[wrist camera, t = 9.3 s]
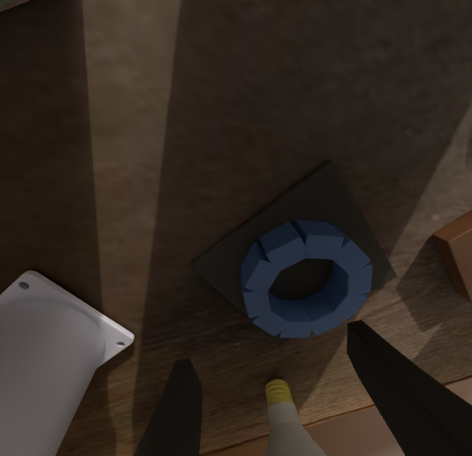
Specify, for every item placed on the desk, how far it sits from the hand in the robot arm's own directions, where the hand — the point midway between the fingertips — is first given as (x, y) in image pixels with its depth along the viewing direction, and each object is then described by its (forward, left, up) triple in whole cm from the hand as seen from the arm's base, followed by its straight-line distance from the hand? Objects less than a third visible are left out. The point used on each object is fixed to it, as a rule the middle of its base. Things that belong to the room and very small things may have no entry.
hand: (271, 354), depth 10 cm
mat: (+3, -1, -6) cm, 6 cm away
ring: (+3, -1, -5) cm, 6 cm away
